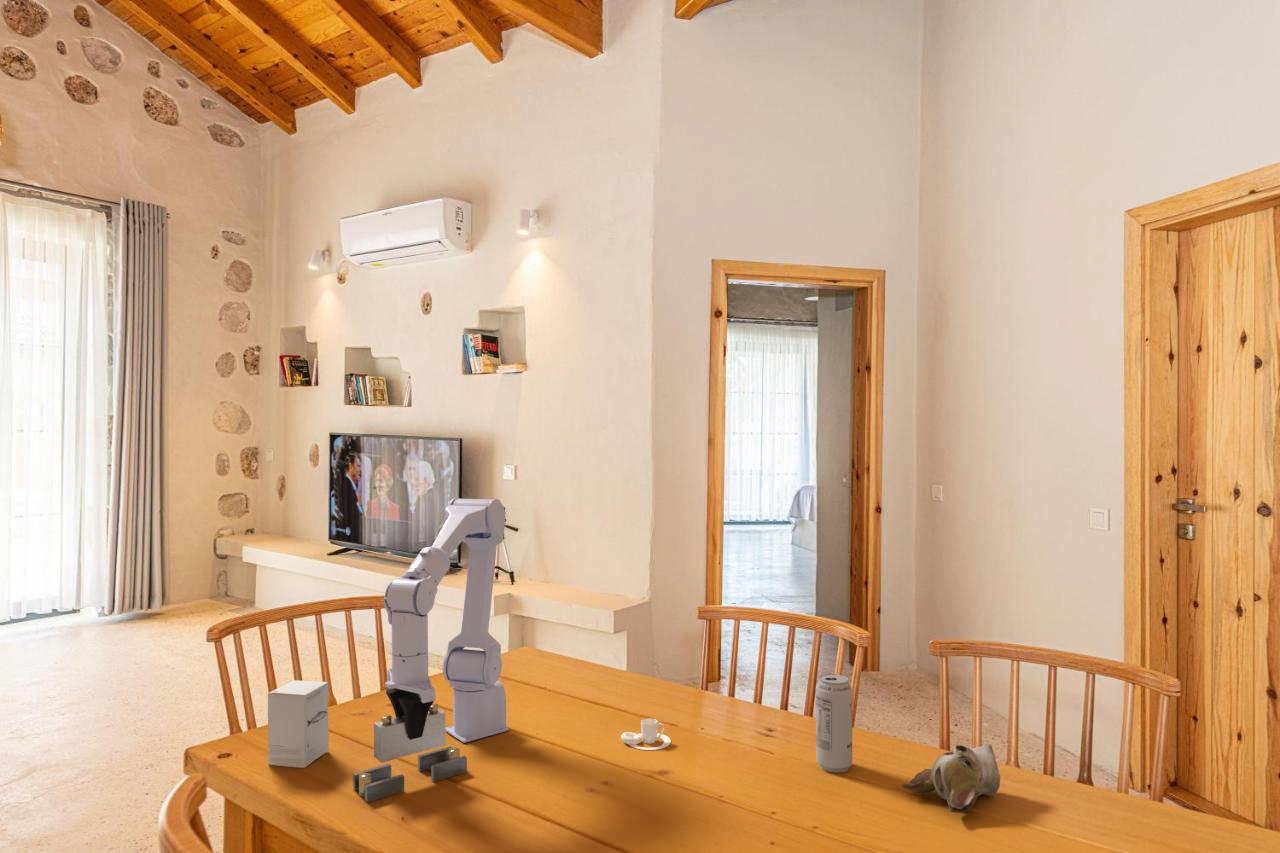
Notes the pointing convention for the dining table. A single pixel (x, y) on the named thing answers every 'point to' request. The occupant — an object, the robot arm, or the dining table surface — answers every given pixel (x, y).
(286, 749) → the supplement box
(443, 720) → the block with brass knobs
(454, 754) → the end link
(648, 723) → the teacup and saucer
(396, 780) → the end link
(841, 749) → the energy drink can
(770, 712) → the dining table surface
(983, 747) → the ceramic sculpture
